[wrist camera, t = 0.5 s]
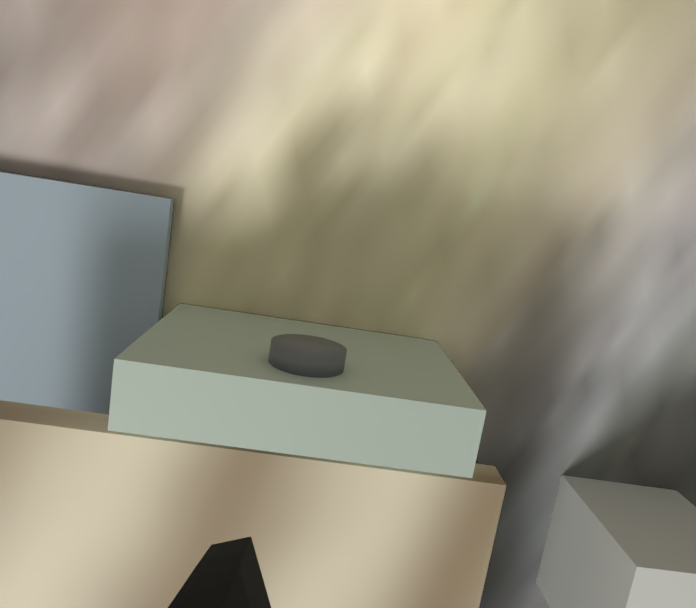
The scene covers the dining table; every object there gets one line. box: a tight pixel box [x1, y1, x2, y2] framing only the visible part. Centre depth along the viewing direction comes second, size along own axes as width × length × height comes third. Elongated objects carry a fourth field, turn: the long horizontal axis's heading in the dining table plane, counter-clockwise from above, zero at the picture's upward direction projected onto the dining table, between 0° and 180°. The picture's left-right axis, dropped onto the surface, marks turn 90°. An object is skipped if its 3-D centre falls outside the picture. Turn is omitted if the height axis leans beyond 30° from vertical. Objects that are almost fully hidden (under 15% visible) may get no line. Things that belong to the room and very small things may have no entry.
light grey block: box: [536, 475, 696, 608], centre depth 18 cm, size 4×4×5 cm
